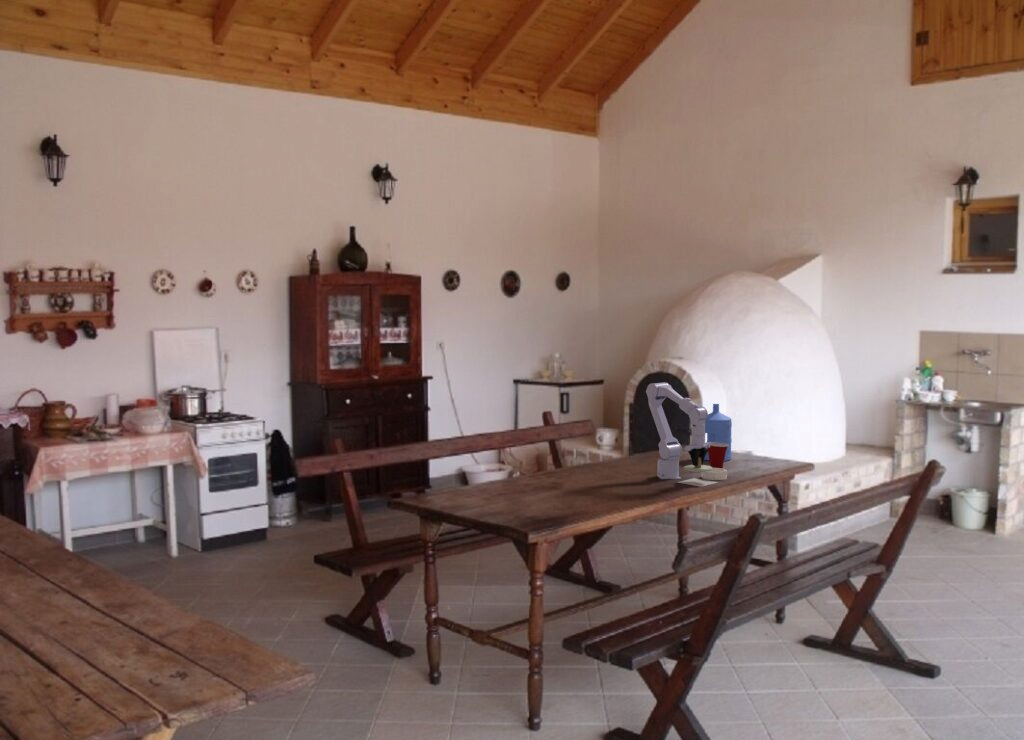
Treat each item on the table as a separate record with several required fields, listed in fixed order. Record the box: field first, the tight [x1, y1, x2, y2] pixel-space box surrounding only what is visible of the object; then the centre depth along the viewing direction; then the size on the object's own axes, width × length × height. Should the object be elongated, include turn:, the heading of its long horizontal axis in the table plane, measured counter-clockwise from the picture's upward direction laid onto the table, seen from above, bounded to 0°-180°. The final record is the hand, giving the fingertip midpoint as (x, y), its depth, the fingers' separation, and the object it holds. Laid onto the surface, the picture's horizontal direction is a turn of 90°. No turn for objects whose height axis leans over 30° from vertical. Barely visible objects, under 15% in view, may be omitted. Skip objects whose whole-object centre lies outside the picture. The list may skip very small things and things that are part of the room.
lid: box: [683, 457, 712, 474], centre depth 409 cm, size 12×12×6 cm
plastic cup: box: [705, 441, 729, 469], centre depth 445 cm, size 11×11×12 cm
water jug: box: [704, 403, 733, 462], centre depth 468 cm, size 16×16×28 cm
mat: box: [676, 477, 719, 488], centre depth 410 cm, size 13×13×1 cm
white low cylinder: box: [701, 468, 728, 481], centre depth 419 cm, size 11×11×4 cm
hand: (697, 465), depth 409 cm, fingers closed on lid, 3 cm apart
